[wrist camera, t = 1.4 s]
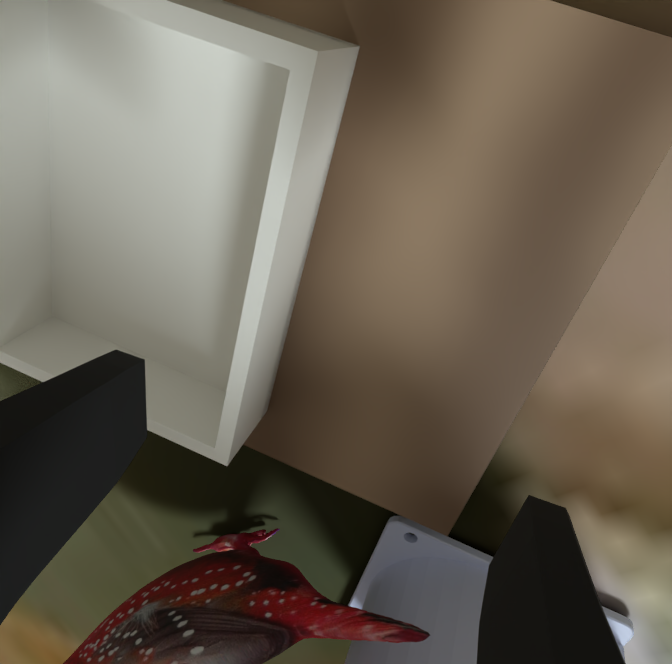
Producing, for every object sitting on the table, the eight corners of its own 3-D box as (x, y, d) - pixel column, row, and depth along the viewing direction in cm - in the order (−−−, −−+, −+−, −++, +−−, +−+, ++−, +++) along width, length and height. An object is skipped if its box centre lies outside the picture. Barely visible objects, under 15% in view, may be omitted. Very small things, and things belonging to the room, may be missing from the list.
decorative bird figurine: (125, 535, 29) (-49, 746, 20) (441, 451, 20) (365, 756, 12) (159, 576, 29) (4, 796, 21) (477, 512, 21) (429, 839, 13)
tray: (360, 46, 14) (318, 51, 11) (266, 411, 20) (227, 466, 18) (44, -60, 15) (-57, -75, 13) (50, 316, 21) (-15, 355, 19)
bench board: (711, 50, 13) (782, 64, 9) (452, 512, 21) (430, 623, 17) (-263, -247, 17) (-515, -330, 13) (-152, 244, 25) (-282, 286, 21)
